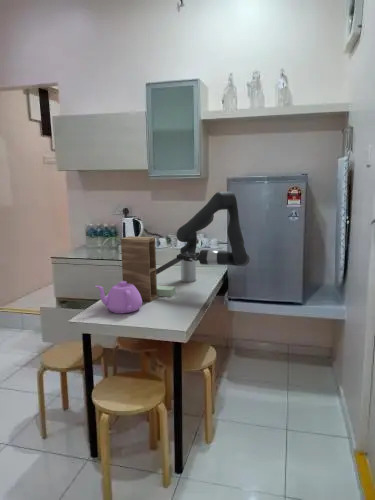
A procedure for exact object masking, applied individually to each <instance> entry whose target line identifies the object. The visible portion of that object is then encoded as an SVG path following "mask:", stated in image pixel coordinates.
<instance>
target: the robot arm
mask: <svg viewBox="0 0 375 500" xmlns="http://www.w3.org/2000/svg"><path fill="white" fill-rule="evenodd" d="M222 210H224V211H225V210H227V211H228V215H229V222H228V226H227V236H228V241H229V245H230V247H231V252H230V251H226V250H215V249H214V250H213V249H209V250H208V249H201V250H199V252H198V251H197V252H196V250H197V240H198V238H197V236H198V233H197V232H199V231H202V230H203V229H205V228H206V227H208V226H210V225H211V223H213V221H214V218H215V217H214V215H215V214H216V213H217V212H218V211H222ZM176 239H177V240H178V241H179V242H180V243H186V244H184V245H183V246H182V247H181V248H179V249H180V253H178V254H177V255H176V258H177V259H183V260H181V261H180V281H181V282H183V283H191V282H192V283H193V282H196V281H197V268H196V267H197V266H196V265H197V263H196V262H198V261H199V264H200V265H201V266H202V265H203V266H204V265H205V266H206V265H208V266H217V265H219V266H220V265H221V266H235V267H236V266H237V267H246V266H247V265H248V264H249V263H250V256H249V255H248V253H247V251H246V247H245V241H244V236H243V233H242V229H241V225H240V217H239V209H238V202H237V197H236V195H235V193H234V192H233V191H218V192H215V194H214V195H213V196H212V197H211V198H210V199H209V200H208V201H207V203H206V204H205V205H203V207H202V208H201V209H200V210H198V212H197V213H196V214H194V216H192V217H191V219H189V220H188V221H187V222H186V223H185V224H183V225H181V226H180V227H179V228H178V229H177V231H176ZM187 251H188V253H189V254H188V255H182V254H184V253H185V252H187Z"/></svg>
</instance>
